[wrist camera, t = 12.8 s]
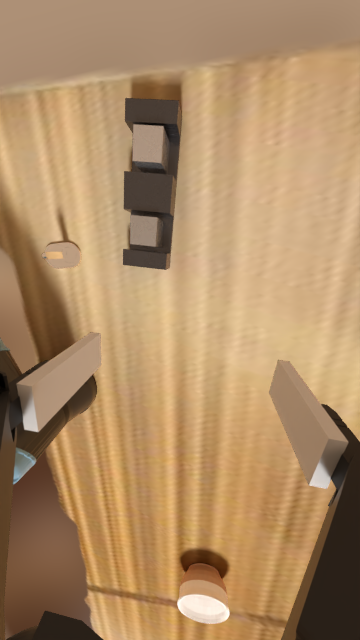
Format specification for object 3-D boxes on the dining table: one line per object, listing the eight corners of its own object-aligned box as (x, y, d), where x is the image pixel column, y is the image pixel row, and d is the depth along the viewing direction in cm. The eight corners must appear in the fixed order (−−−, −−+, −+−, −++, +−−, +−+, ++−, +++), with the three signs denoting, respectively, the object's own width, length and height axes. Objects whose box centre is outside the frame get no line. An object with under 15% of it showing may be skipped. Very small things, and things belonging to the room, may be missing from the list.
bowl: (176, 578, 75) (173, 614, 68) (185, 552, 70) (182, 588, 63) (221, 591, 74) (222, 629, 67) (232, 566, 69) (235, 604, 62)
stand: (43, 244, 44) (78, 241, 43) (49, 269, 45) (84, 266, 44) (11, 243, 37) (52, 239, 36) (19, 272, 38) (59, 269, 37)
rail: (130, 263, 43) (123, 264, 39) (134, 114, 35) (125, 98, 31) (169, 267, 42) (165, 269, 38) (182, 117, 34) (178, 100, 31)
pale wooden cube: (143, 141, 36) (133, 124, 31) (169, 142, 35) (163, 126, 30) (142, 172, 37) (132, 160, 32) (167, 174, 37) (161, 162, 32)
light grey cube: (138, 244, 41) (129, 243, 36) (139, 219, 39) (130, 214, 35) (161, 247, 40) (155, 246, 36) (163, 221, 39) (157, 217, 34)
